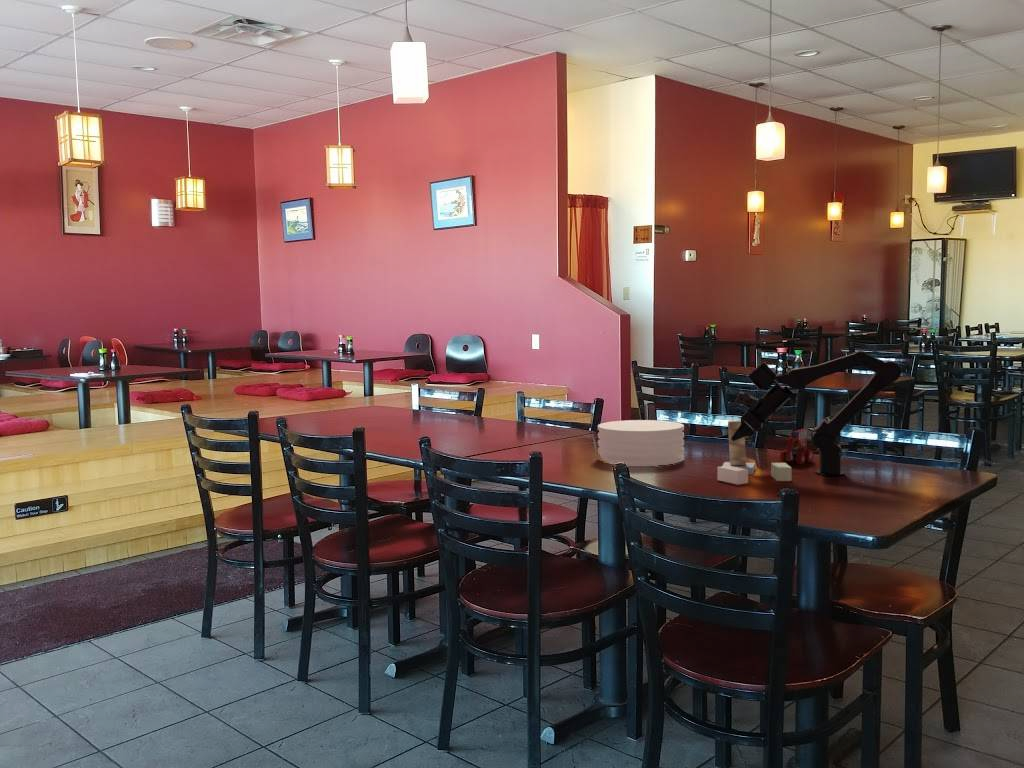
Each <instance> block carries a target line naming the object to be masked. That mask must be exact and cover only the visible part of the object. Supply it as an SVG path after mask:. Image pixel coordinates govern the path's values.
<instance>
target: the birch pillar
mask: <svg viewBox="0 0 1024 768" xmlns="http://www.w3.org/2000/svg"><path fill="white" fill-rule="evenodd" d="M740 425H741V419H740V420H739V419H738V420H728V421H727V428H728V429H727V430H728V444H729V445H728V447H729V451H728V452H729V462H730V465H746V463H747V457H746V453H747V452H746V436H745V437H743V438H740V439H738V440H735V441H733V440H732V439H731V438H732V436H733V435H734V433H735V432H736V431H737V429H738V428H739V427H740Z"/></svg>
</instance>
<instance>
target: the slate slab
mask: <svg viewBox="0 0 1024 768" xmlns="http://www.w3.org/2000/svg"><path fill="white" fill-rule="evenodd" d="M722 466H733V467H738V468H743V469H748V475H753V474H754V472H755V469H756V463H755V462H746V465H730V461H724V463H723V464H722Z"/></svg>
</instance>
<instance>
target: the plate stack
mask: <svg viewBox="0 0 1024 768" xmlns="http://www.w3.org/2000/svg"><path fill="white" fill-rule="evenodd" d="M684 430H685V425H684V424H683V423H680V422H676V421H669V420H657V419H652V420H651V419H644V420H643V419H636V420H635V419H628V420H613V421H607V422H602V423H599V424H597V431H599V432H597V438H598V440H597V445H598V446H599V447H598V448H597V453H598V454H599V455H600V456H601V458H603V460H606V461H610V462H614V463H618V462H624V463H626V464H627V465H628V466H627V467H629V466H655V467H659V466H658V465H667V466H669V465H668V464H673V465H675V464H674V463H678V462H681V461H683V460H684V461H685V455H684V453H685V447H684V446H685V440H684V438H685V433H684ZM684 461H683V462H684ZM614 463H613V464H614ZM681 463H682V462H681ZM678 464H679V463H678Z"/></svg>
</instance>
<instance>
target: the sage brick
mask: <svg viewBox="0 0 1024 768" xmlns="http://www.w3.org/2000/svg"><path fill="white" fill-rule="evenodd" d="M770 465H771V468H770V475H771V476H770V477H772V478H773V479H774V480H775V481H776V482H791V481H792V471H793V470H792V467H791V466H790V465H789V464H788V463H782V462H771V464H770Z"/></svg>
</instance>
